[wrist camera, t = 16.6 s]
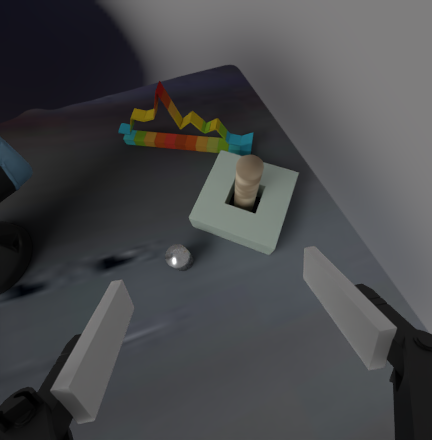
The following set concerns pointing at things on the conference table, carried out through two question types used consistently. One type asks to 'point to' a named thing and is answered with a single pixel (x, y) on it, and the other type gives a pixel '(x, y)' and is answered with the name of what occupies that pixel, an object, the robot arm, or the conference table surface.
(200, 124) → the chart
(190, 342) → the conference table surface
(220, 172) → the hole block
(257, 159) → the tall beech pin
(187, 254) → the short metal pin
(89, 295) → the conference table surface
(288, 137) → the conference table surface
